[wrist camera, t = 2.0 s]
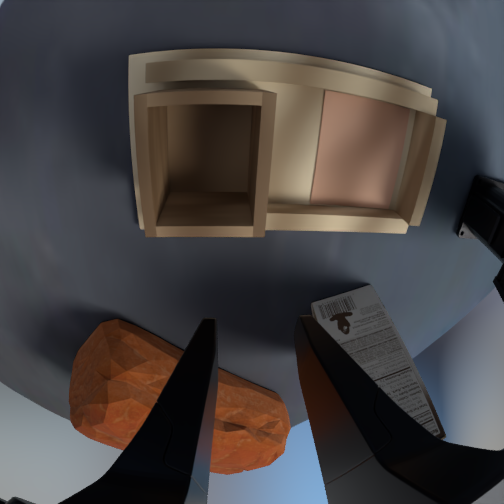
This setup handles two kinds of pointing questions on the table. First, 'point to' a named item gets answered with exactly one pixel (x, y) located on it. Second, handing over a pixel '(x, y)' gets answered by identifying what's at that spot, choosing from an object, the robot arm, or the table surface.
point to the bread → (150, 387)
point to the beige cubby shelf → (320, 134)
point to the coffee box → (378, 350)
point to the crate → (204, 160)
